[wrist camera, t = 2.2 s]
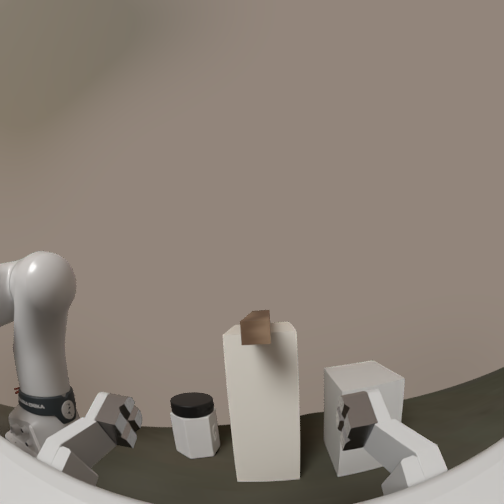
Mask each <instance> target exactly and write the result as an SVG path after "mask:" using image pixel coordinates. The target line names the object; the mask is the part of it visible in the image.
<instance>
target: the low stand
mask: <svg viewBox="0 0 504 504" xmlns="http://www.w3.org/2000/svg"><path fill="white" fill-rule="evenodd" d="M404 382H405V379H404V378H403V377H401V376H400V375H398V374H396V373H394V372H392V371H391V370H389V369H387V368H386V367H384V366H382V365H380V364H378V363H377V362H375V361H373V360H371V361H365V362H360V363H354V364H348V365H341V366H335V367H327V368H324V442H325V445H326V448H327V450H328V453H329V455H330V458H331V461H332V463H333V466H334V468H335V471H336V474H337V476H338V477H340V476H345V475H350V474H354V473H359V472H363V471H367V470H371V469H375V468H378V467H382V465H381V464H380V463H379V462H378V461H377V460H376V459H374V458H373V457H372V456H371V455H370V454H369V453H368V452H367V451H366V450H365V449H363V448H364V447H363V448H358V449H352V450H347V451H342V447H341V442H340V435H341V431H339V430H338V429H337V424H336V409H337V407H338V406H339V402H338V400H339V397H340V395H346V394H351V393H356V392H361V391H368V390H372V389H379V390H380V393H381V395H382V397H383V400H384V402H385V404H386V407H387V409H388V412H389V414H390V417H391V419H396V420H398V421H399V422H401V417H402V408H403V396H404Z"/></svg>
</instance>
